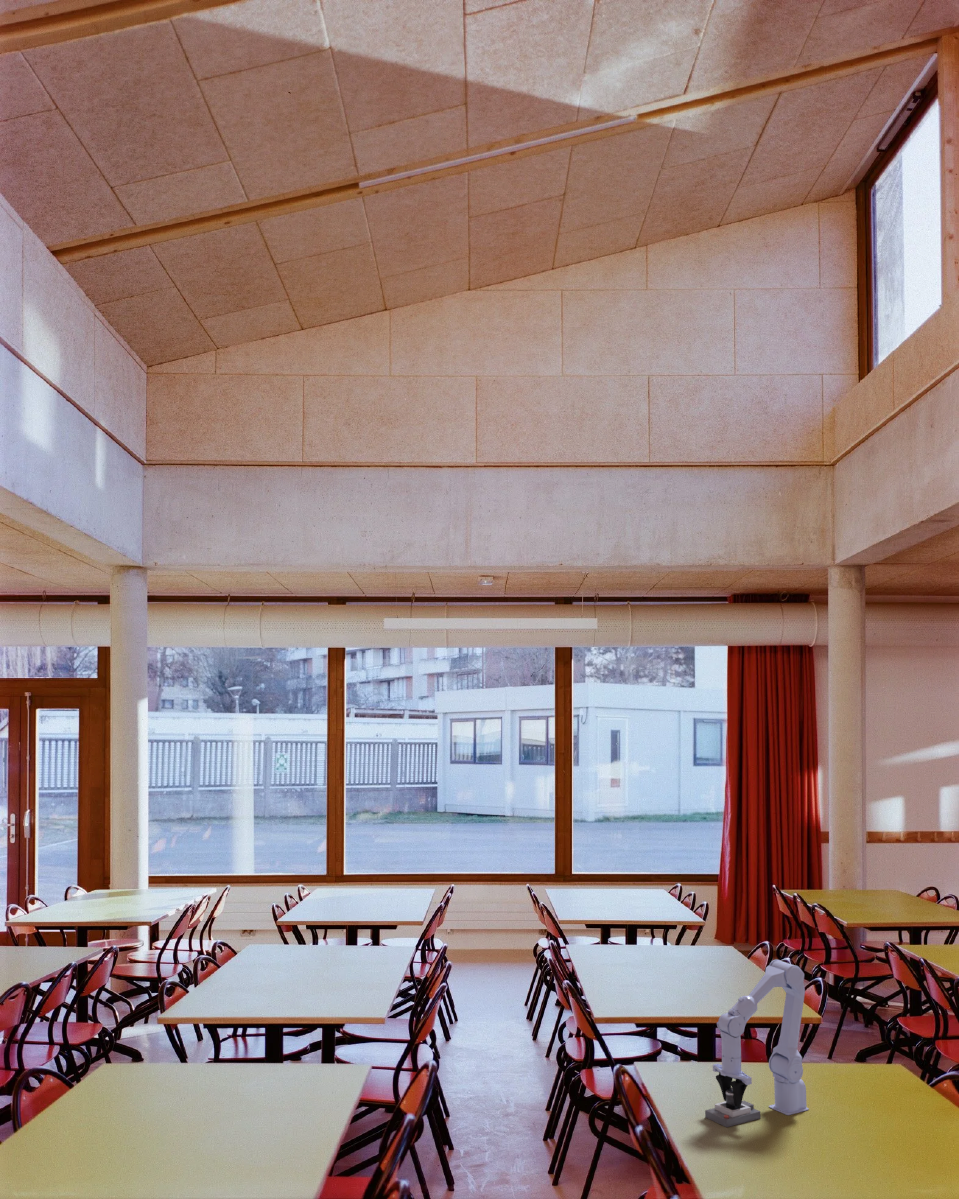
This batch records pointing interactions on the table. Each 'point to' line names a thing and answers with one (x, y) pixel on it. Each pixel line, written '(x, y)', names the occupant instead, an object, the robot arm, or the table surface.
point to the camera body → (732, 1114)
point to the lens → (730, 1100)
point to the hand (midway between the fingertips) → (732, 1102)
